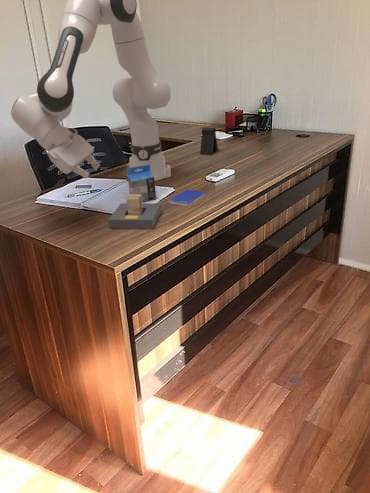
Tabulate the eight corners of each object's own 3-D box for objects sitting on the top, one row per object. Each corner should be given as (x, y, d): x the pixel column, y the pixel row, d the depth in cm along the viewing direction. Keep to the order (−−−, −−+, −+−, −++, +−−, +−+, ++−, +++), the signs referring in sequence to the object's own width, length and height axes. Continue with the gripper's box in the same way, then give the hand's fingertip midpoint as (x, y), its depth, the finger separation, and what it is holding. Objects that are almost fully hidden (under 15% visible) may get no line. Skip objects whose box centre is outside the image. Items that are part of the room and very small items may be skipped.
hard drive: (188, 203, 148) (204, 192, 158) (168, 200, 152) (185, 189, 162) (188, 207, 149) (204, 196, 158) (168, 204, 153) (185, 193, 162)
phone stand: (211, 155, 206) (210, 130, 201) (200, 154, 209) (199, 129, 203) (218, 150, 213) (217, 126, 208) (207, 149, 216) (206, 125, 210)
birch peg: (132, 217, 143) (129, 194, 139) (144, 217, 142) (141, 194, 138) (129, 222, 139) (126, 198, 135) (141, 222, 138) (138, 198, 135)
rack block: (121, 211, 148) (120, 203, 146) (161, 211, 145) (160, 203, 144) (109, 228, 135) (108, 219, 134) (152, 228, 133) (151, 219, 132)
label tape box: (133, 204, 153) (129, 170, 148) (130, 200, 157) (126, 168, 151) (156, 199, 156) (153, 166, 151) (152, 196, 160) (149, 163, 154)
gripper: (49, 142, 122) (87, 175, 124) (75, 127, 140) (108, 156, 142) (37, 157, 124) (75, 189, 127) (65, 141, 142) (97, 169, 145)
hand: (93, 171), depth 135 cm, fingers open, 8 cm apart
